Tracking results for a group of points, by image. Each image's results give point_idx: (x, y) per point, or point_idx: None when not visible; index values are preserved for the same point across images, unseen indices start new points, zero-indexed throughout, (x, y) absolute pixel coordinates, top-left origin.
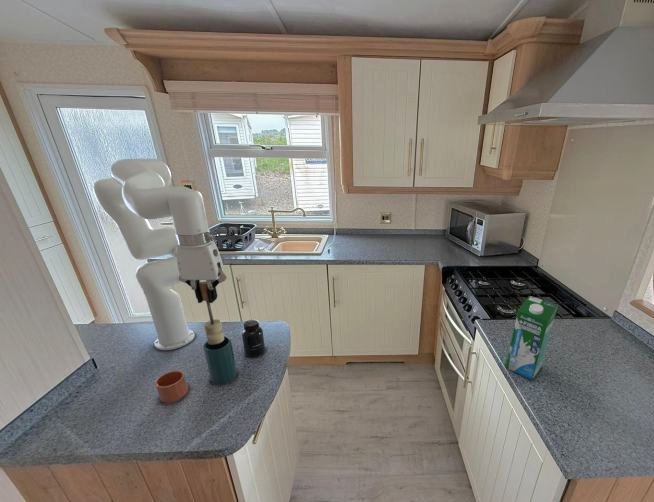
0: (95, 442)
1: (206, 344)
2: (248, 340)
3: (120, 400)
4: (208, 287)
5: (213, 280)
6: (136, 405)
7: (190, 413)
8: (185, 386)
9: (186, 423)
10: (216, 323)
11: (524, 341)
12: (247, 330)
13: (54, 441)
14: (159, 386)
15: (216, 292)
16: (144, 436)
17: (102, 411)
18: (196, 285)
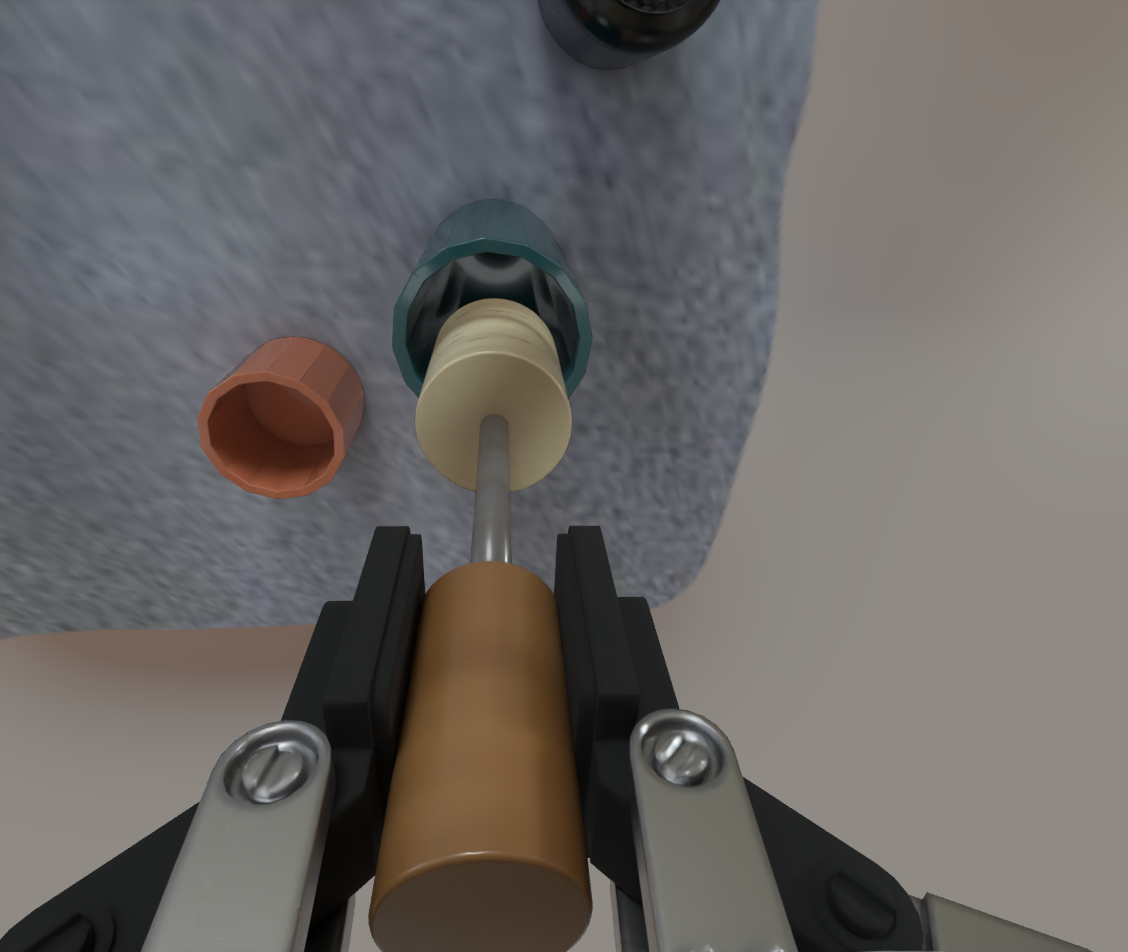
0: (182, 605)
1: (406, 336)
2: (623, 55)
3: (57, 423)
4: (620, 909)
5: (714, 905)
6: (170, 453)
7: (449, 496)
8: (355, 409)
9: (461, 539)
10: (537, 433)
11: None
12: (635, 9)
13: (20, 602)
14: (262, 491)
15: (659, 654)
16: (341, 585)
17: (44, 482)
18: (341, 940)
